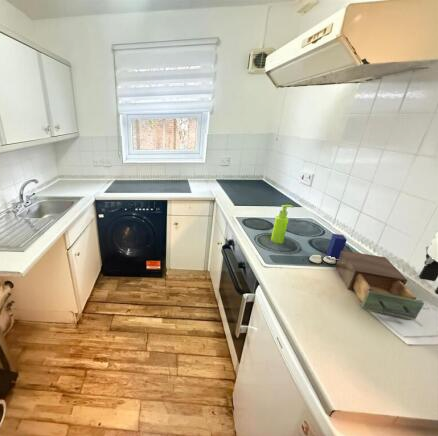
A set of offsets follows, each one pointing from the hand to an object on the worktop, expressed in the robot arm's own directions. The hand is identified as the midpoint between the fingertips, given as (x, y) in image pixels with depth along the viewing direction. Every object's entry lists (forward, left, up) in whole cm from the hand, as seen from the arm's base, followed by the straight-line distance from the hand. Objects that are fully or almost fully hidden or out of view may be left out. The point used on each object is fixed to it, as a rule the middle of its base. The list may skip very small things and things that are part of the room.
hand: (434, 286), depth 61 cm
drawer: (0, -15, -19) cm, 24 cm away
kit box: (+6, -46, -20) cm, 50 cm away
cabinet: (0, -29, -20) cm, 35 cm away
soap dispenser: (+28, -55, -20) cm, 65 cm away
